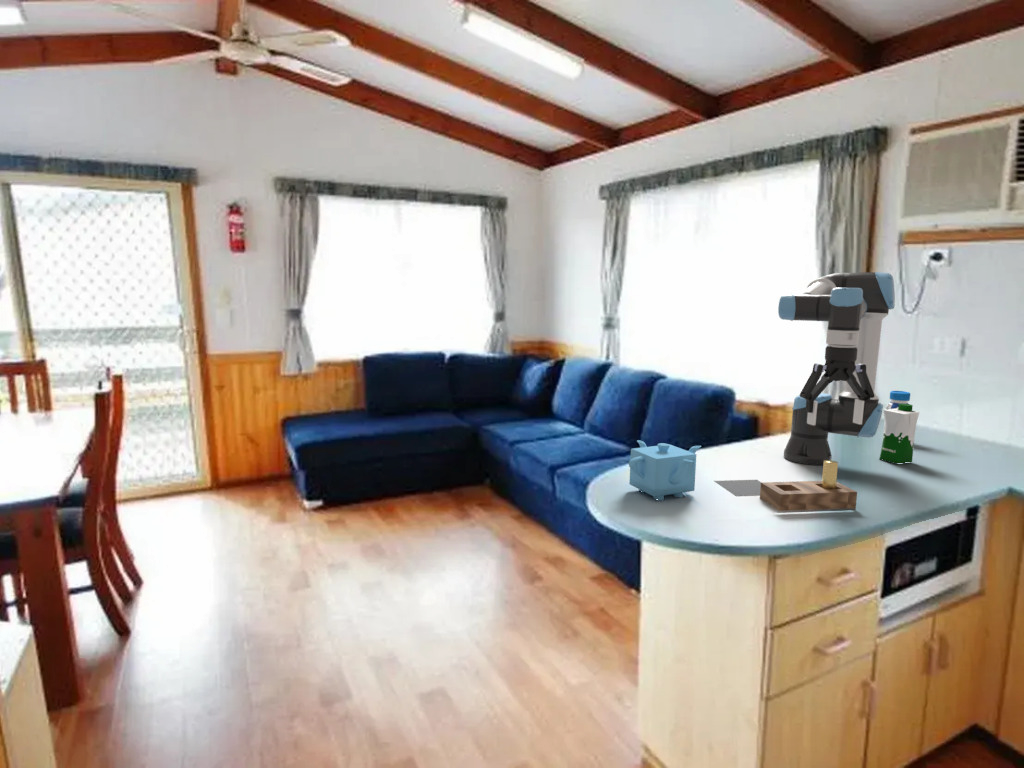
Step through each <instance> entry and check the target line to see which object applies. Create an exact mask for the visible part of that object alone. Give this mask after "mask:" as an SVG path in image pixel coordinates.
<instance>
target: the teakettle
mask: <svg viewBox="0 0 1024 768" xmlns="http://www.w3.org/2000/svg"><path fill="white" fill-rule="evenodd" d="M636 442H637V443H638V444H639V447H634V448H631V449H630V460H629V461H628V466H629V483H628V484H629V485H630V486H632V487H634V488H636V489H638V490H639V491H642V492H646V493H645V494H647V495H650V496H652V497H653V498H654V499H658V500H663V499H664V500H665V496H669V495H673V496H674V497H675V496H676V497H675V498H679V497H683V498H684V496H685V495H684V493H689V492H694V491H695V487H696V485H695V484H696V470H697V454H696V452H697V451H698V450H699V449H700V448H701V447H702V445H694V446H691V447H690V448H689V450H686V449H683V448H681V447H677V446H675V445H672V444H669V443H664V442H661V443H657V445H652V446H647V444H646V443H645V441H643V440H639V439H638V440H636ZM639 491H638V492H639ZM654 499H653V500H654ZM664 500H663V501H664Z"/></svg>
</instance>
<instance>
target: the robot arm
mask: <svg viewBox="0 0 1024 768" xmlns="http://www.w3.org/2000/svg"><path fill="white" fill-rule="evenodd" d="M895 295H896V293H895V281H894V277H893V275H892V274H891V273H889V272H881V271H880V272H879V271H873V272H871V271H869V272H865V271H864V272H836V273H831V274H827V275H822V276H821V277H819V278H815V279H814V280H812V281H811V282H809V284H808V285H807V287H806V288H805V289H803V290H802V291H800V292H799V293H796V294H795V293H794V294H793V293H789V294H788V293H787V294H782V295H781V296H780V297H779V301H778V311H777V312H778V313H777V314H778V316H779V318H780V319H781V320H786V321H791V322H793V321H808V322H809V321H810V322H811V321H812V322H827V333H826V339H825V342H826V343H825V344H826V345H827V346H826V347H825V352H824V353H825V354H824V361H825V363H824V364H820V363H814V364H813V366H812V367H813V368H812V372H811V373H810V375H809V377H808V379H807V380H806V383H805V384H804V386H803V388H802V390H801V391H800V393H799V395H796V397H794V400H793V406H792V417H791V429H790V437H789V439H788V441H787V444H786V446H785V448H784V450H783V458H785V459H786V460H788V461H791V462H794V463H799V464H803V465H813V466H823V464H824V461H825V460H831V461H832V452H831V448H830V445H829V440H828V439H829V434H836V435H844V436H853V437H857V438H868V439H869V438H873V437H874V436H875V435H876V433H877V430H878V428H879V425H880V422H881V418H882V413H883V411H884V404H882V403H881V402H879V400H880V398H879V396H878V395H876V393H875V388H876V387H875V386H876V380H877V379H876V378H877V377H876V376H877V368H878V362H879V361H878V360H879V350H880V341H881V332H882V323H883V320H884V319H885V318H886V317H887V316H888V315H889V311H890V310H893V309H895V306H896V304H895V303H896V300H895ZM833 381H834V382H839V381H843V382H845V385H844V390H843V391H841V392H840V393H839V394H838V399H836V398H835V399H833V396H832V394H830V393H826V392H825V393H823V391H824V390H825V389H826V388H827V387H828V385H830V383H831V384H832V383H833Z"/></svg>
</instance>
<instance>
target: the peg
mask: <svg viewBox="0 0 1024 768" xmlns="http://www.w3.org/2000/svg"><path fill="white" fill-rule="evenodd" d="M838 465H839V462H838V461H834V460H832V459H831V460H825V461H824V464H823V465H822V475H821V476H822V478H821V481H822V485H821V488H823V489H825V490H832V489H836V482H837V479H838V477H837V476H838V468H839V466H838Z"/></svg>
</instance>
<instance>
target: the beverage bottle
mask: <svg viewBox="0 0 1024 768" xmlns="http://www.w3.org/2000/svg"><path fill="white" fill-rule="evenodd" d="M889 400H890V401H889V402H888V404H887V405H886V407H885V408H886V409H885V410H888V409H896V408H899V404H909V402H910V401H911V392H910V391H909V392H908V391H904V390H891V391H890V392H889Z"/></svg>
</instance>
